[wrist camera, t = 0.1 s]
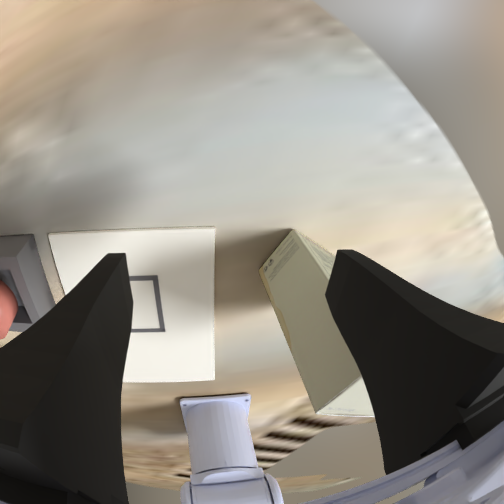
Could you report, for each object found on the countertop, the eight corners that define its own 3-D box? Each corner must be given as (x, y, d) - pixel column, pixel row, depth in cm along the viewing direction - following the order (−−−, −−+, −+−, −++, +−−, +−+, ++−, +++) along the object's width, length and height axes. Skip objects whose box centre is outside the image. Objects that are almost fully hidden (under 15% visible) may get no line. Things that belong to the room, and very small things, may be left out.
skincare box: (256, 269, 23) (307, 415, 13) (294, 224, 21) (379, 359, 11) (313, 299, 26) (374, 420, 15) (348, 261, 24) (429, 376, 14)
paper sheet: (214, 377, 29) (214, 380, 29) (101, 378, 27) (101, 381, 26) (214, 226, 20) (215, 228, 20) (49, 233, 18) (47, 235, 17)
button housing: (57, 308, 21) (47, 333, 19) (-2, 305, 20) (-14, 328, 17) (33, 234, 17) (16, 256, 15) (-29, 238, 16) (-47, 258, 14)
